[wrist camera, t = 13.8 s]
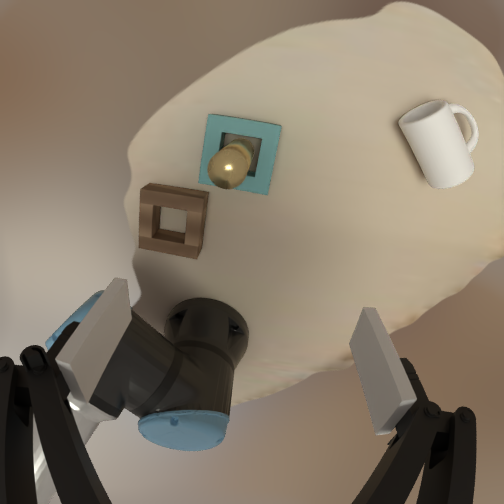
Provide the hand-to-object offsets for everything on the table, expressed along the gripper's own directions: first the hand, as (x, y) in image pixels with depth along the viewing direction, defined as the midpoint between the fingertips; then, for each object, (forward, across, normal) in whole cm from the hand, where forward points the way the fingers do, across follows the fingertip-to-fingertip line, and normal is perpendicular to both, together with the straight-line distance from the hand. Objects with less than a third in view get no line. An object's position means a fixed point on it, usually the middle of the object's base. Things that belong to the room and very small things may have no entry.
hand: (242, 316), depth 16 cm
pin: (+28, +3, -5) cm, 28 cm away
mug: (+27, -25, -14) cm, 40 cm away
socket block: (+28, +2, -5) cm, 28 cm away
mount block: (+28, +11, +5) cm, 31 cm away
